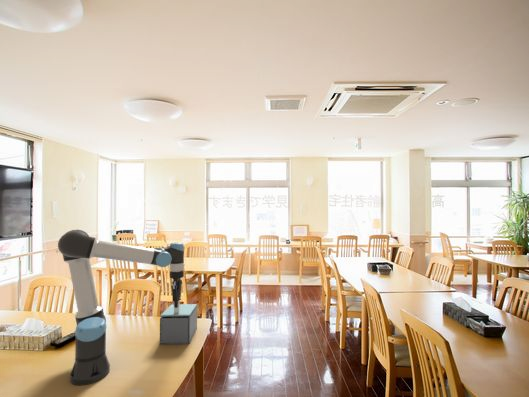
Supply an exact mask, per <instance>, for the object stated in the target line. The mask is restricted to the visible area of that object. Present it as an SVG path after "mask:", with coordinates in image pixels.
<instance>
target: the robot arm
mask: <svg viewBox="0 0 529 397" xmlns="http://www.w3.org/2000/svg"><path fill="white" fill-rule="evenodd" d="M184 247H185V246H184V243H183V242H171V243H170V244H169V246H168V247H153V248H147V247H142V246H137V245H136V246H135V245H129V244H123V243H118V242H117V243H116V242H111V241H103V240H98V238H97V237H93V236H89V234H88V232H86V231H84V230H82V229H72V230H69V231H67V232H65V233H64V234H63V235H61V237H60V238H59V239H58V242H57V249H58V251H59V252H60V254H62V257H63V258H62V259H63V262H65V263H67V264H68V269H69V273H70V278H71V282H72V288H73V293H74V297H75V302H76V303H75V304H76V308H77V312H76V313H75V315H74V318H75V322H76V326H75V331H74V335H75V346H74V347H75V350H74V351H75V353H74V354H75V355H74V356H75V358H74V360H75V361H74V363H73V366H72V369H71V371H70V376H69V382H70V384H71V385H74V386H86V385H89V384H93V383H96V382H98V381H100V380H102V379H104V378H105V377H106V376H108V374H109V373H110V370H111V368H110V366H111V364H110V361H109V359H108V357H107V353H106V352H107V351H106V350H107V349H106V348H107V347H106V346H107V344H106V343H107V342H106V341H107V337H106V336H107V318H106V315H105V312H104V308H103V306H102V305H100V304H99V302H98V296H97V291H96V286H95V281H94V276H93V271H92V266H91V265H92V264H91V262H90V259H92V258H99V259H101V258H102V259H107V260H114V261H115V260H116V261H123V262H131V263H138V264H144V265H146V264H147V265H152V266H158V267H160V268H166V267H168V266H169V270H170V271H169V278H170V279H172V281H171V282H172V285H171V295H172V302H173V304H174V313H179V312H180V304H181V303H180V302H181V301H182V298H181V297H182V283H183V279H182V278H184V277H185V276H184V275H185V273H184V272H185V271H184V268H185V265H186V264H185V263H184V261H185V257H184V256H185V248H184Z"/></svg>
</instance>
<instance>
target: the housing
mask: <svg viewBox="0 0 529 397" xmlns="http://www.w3.org/2000/svg"><path fill="white" fill-rule="evenodd" d="M172 317H173V316H165V317H161V316H160V318H159V345H160V346H161V345H190V343H191V341H192V340H193V337H194V335H195V334H196V331H197V329H198V305H197V306H196V307H195V309H194V310H193V312H192V313H191V315H190V316H184V317H185V318H172Z"/></svg>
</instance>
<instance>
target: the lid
mask: <svg viewBox="0 0 529 397" xmlns="http://www.w3.org/2000/svg"><path fill="white" fill-rule="evenodd" d="M196 306H197V307H198V303H194V304H193V303H191V304H190V303H187V304H186V303H185V304H182V303H180V312H179V313H174V303H172V304H170V305H169V306H168V307H167V308H166V309H165V310H164V311H163V312H161V314H160V318H161V317H165V316H190V315H191V313H192V312H193V310H194V309H195V307H196Z"/></svg>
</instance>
